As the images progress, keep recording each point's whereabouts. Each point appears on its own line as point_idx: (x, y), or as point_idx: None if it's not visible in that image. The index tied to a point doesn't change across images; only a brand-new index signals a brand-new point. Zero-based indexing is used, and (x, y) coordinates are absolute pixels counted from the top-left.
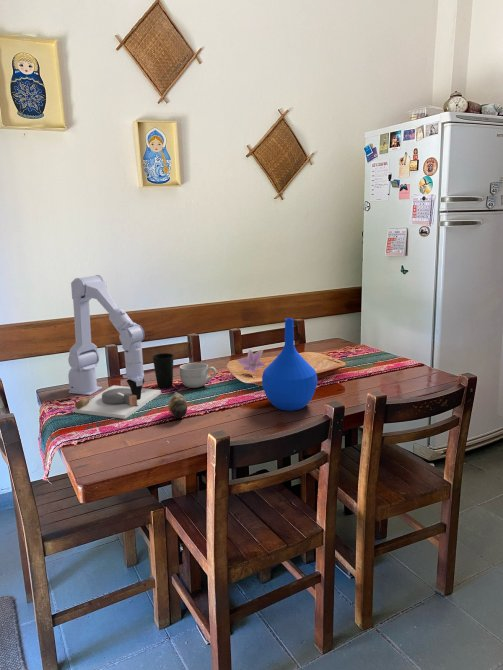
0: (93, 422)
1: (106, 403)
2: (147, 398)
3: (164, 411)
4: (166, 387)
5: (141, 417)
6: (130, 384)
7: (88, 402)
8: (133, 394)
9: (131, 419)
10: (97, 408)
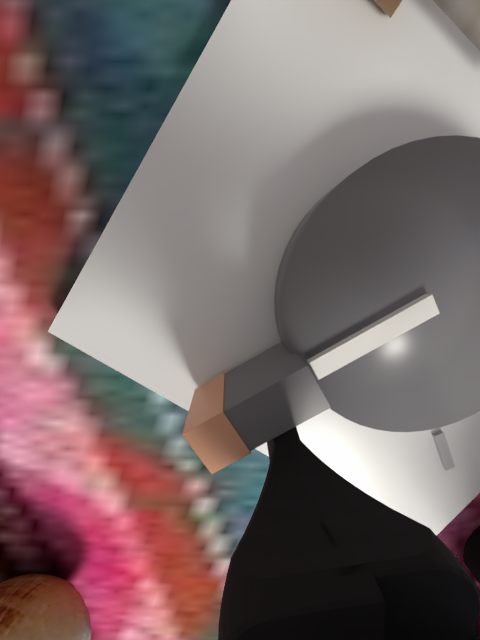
0: (41, 93)
1: (322, 197)
2: None
3: (135, 528)
4: (471, 560)
5: (72, 417)
6: (224, 591)
7: (386, 3)
8: (273, 446)
9: (50, 361)
10: (251, 115)
